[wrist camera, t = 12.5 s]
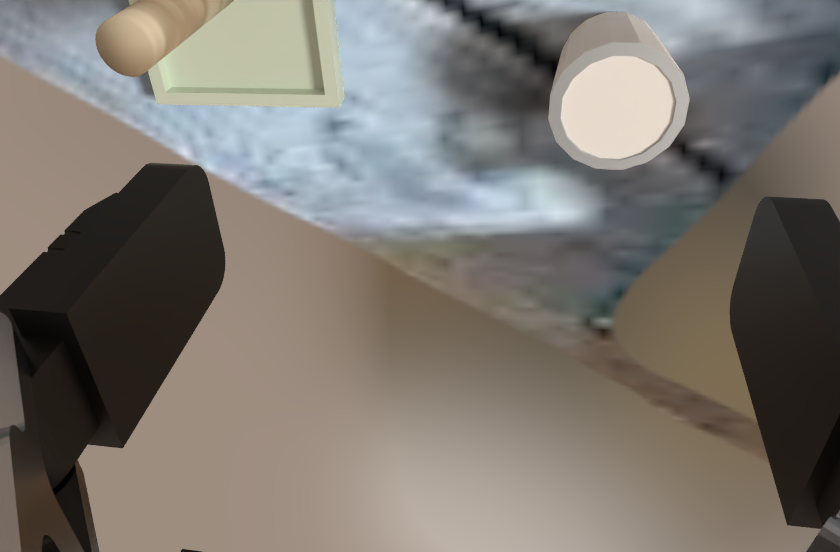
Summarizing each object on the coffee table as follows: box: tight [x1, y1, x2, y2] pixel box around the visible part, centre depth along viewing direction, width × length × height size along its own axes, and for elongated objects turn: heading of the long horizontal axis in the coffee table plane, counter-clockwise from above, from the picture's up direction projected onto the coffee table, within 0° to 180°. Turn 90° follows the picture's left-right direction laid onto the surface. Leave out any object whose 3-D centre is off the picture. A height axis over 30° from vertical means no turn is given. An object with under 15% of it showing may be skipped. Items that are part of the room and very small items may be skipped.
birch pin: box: [96, 0, 234, 77], centre depth 37 cm, size 3×3×12 cm
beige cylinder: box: [548, 12, 690, 170], centre depth 39 cm, size 7×7×7 cm
